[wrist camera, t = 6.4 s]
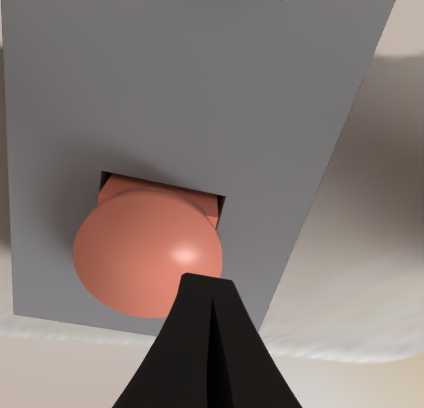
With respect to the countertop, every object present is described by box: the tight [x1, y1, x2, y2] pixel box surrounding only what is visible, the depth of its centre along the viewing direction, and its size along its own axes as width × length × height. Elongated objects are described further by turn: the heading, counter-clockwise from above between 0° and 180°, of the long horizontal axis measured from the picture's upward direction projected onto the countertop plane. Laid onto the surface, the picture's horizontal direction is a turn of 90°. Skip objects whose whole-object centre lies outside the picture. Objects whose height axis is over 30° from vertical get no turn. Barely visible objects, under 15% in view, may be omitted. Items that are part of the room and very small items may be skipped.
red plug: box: [73, 173, 223, 318], centre depth 15 cm, size 6×6×5 cm
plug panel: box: [1, 0, 396, 336], centre depth 14 cm, size 12×24×4 cm, turn 167°
